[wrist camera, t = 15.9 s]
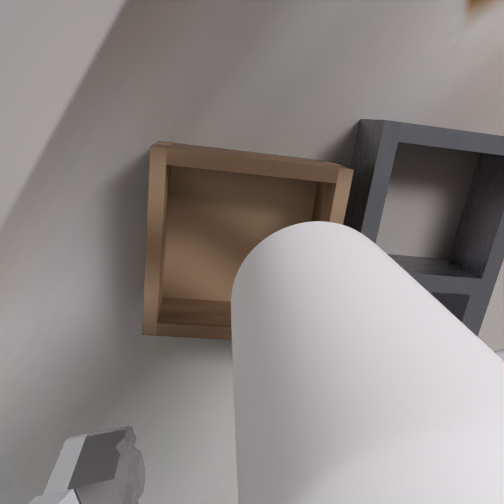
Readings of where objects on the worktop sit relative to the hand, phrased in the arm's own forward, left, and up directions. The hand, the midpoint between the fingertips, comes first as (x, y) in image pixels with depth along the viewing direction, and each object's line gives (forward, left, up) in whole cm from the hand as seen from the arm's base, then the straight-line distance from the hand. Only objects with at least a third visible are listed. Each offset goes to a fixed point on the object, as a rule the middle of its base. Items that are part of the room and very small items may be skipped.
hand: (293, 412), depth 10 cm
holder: (0, 0, -17) cm, 17 cm away
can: (0, +2, -7) cm, 7 cm away
